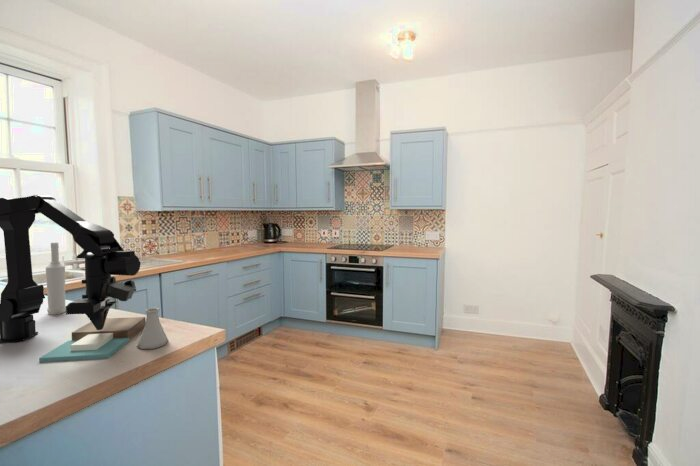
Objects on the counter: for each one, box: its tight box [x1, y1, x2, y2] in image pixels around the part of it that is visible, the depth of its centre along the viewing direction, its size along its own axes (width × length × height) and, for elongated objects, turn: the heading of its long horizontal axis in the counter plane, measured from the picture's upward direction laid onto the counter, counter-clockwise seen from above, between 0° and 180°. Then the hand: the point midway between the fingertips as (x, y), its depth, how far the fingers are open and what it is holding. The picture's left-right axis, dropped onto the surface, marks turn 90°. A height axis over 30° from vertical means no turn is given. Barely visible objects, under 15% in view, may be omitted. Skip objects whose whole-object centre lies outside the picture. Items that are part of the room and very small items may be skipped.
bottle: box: [45, 241, 67, 316], centre depth 117 cm, size 5×5×25 cm
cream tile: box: [70, 333, 113, 351], centre depth 89 cm, size 6×8×2 cm
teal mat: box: [38, 338, 130, 363], centre depth 87 cm, size 15×11×1 cm
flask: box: [136, 307, 169, 350], centre depth 91 cm, size 7×7×10 cm
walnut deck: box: [71, 316, 146, 340], centre depth 99 cm, size 14×12×3 cm
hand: (100, 329), depth 93 cm, fingers closed
